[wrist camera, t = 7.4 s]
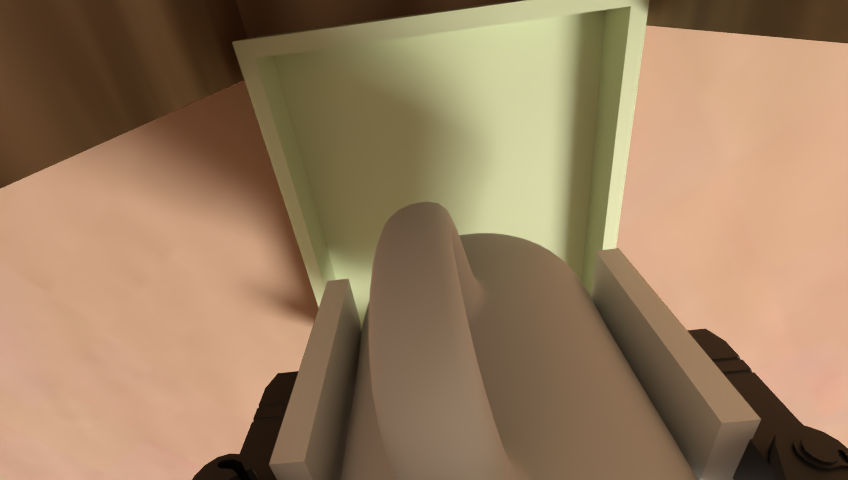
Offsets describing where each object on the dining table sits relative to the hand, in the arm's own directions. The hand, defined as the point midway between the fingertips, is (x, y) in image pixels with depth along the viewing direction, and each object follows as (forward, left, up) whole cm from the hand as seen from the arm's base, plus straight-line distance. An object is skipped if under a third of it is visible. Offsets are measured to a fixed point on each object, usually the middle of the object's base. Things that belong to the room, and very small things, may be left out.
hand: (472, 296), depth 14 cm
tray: (0, -1, -7) cm, 7 cm away
